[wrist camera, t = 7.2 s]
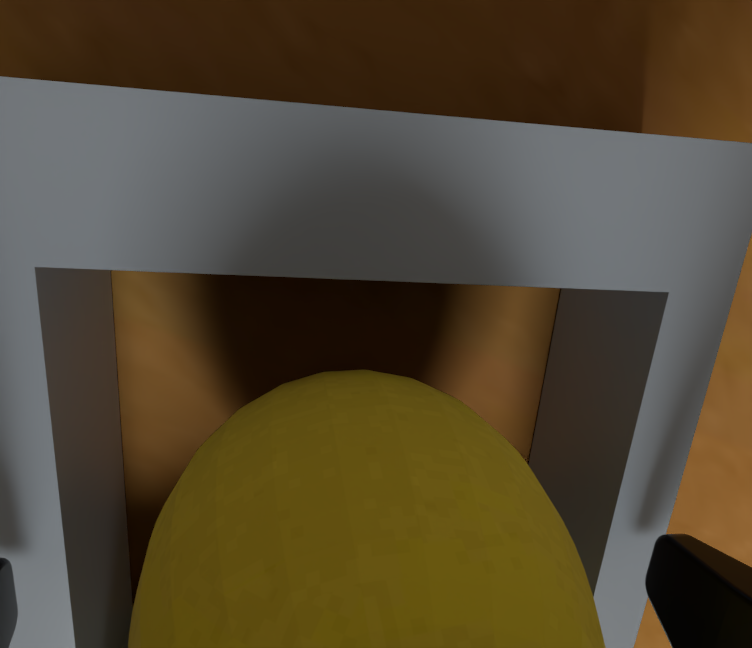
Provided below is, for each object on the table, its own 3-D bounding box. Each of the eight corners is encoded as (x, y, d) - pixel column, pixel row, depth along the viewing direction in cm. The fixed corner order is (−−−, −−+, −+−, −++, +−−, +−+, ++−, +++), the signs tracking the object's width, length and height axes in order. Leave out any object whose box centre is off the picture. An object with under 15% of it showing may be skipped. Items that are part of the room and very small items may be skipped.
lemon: (470, 288, 11) (892, 666, 3) (471, 534, 13) (744, 1124, 5) (160, 319, 10) (-168, 885, 3) (209, 574, 12) (98, 1321, 5)
